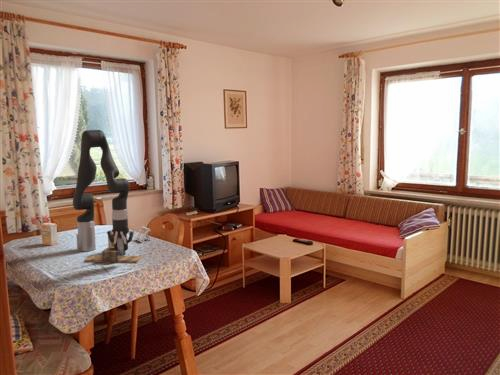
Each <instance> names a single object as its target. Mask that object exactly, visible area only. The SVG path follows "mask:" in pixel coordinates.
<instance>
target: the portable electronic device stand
mask: <svg viewBox="0 0 500 375" xmlns="http://www.w3.org/2000/svg"><path fill="white" fill-rule="evenodd" d="M142 232H143V233H144V234H143V238H142V239H141V238H140V237H141V235H142ZM148 233H151V228H148V227H145V226H141V227H140V229H139V233H138V236H137V237H134V240H135V241H136V240H137V242H138V241H139V243H141V242H143V243H144V242H145V239H147V238H148V240H149V239H151V238H150V235H149V234H148Z"/></svg>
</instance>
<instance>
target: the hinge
mask: <svg viewBox="0 0 500 375" xmlns="http://www.w3.org/2000/svg"><path fill="white" fill-rule="evenodd" d="M142 259H143V256H142V255H123V256H118V255H117V251H116V250H115V249H114V247H107V248H105V249H103V250H102V251H101V255H98V254H97V255H96V254H95V255H93V254H92V255H90V256H88V257H86V258H85V259H84V263H109V264H110V263H111V264H112V263H116V264H117V263H124V264H125V263H128V264H134V263H135V264H137V263H139V261H141V260H142Z"/></svg>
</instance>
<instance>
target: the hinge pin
mask: <svg viewBox="0 0 500 375" xmlns="http://www.w3.org/2000/svg"><path fill="white" fill-rule="evenodd" d="M124 244H125V243H124V240H123V239H122V238H121V237H119V238H117V255H118V256H123V255H124V256H127V255H126V251H127V250H126V251H124Z"/></svg>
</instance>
